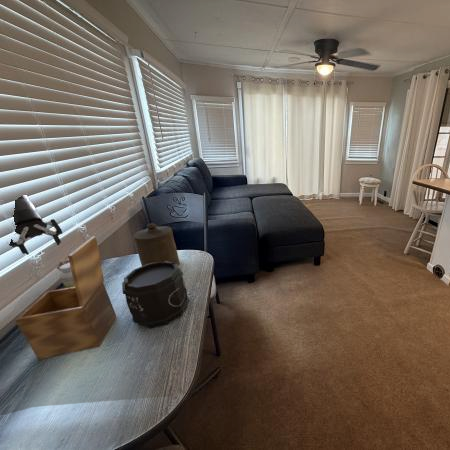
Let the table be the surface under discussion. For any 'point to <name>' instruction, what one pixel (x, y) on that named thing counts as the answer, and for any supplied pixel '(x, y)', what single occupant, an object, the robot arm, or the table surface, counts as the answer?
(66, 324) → the box
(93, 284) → the lid
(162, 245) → the wooden container
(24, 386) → the table surface
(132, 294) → the dark round tin
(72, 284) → the pill bottle
